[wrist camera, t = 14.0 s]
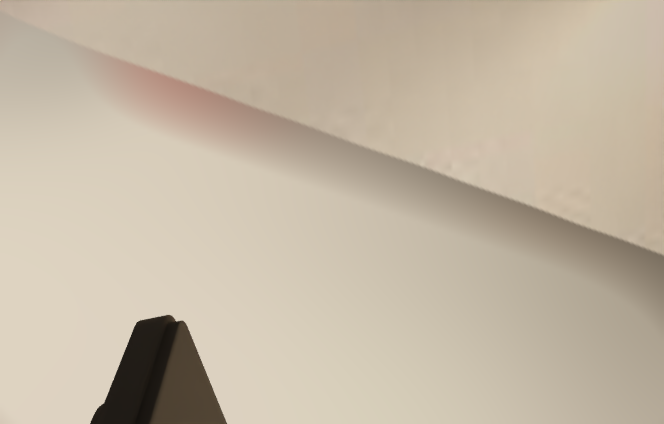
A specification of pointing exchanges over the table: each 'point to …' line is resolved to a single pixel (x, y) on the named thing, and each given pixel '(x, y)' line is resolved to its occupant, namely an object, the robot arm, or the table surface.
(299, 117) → the table surface
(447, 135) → the table surface
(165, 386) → the robot arm
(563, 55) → the table surface
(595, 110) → the table surface
